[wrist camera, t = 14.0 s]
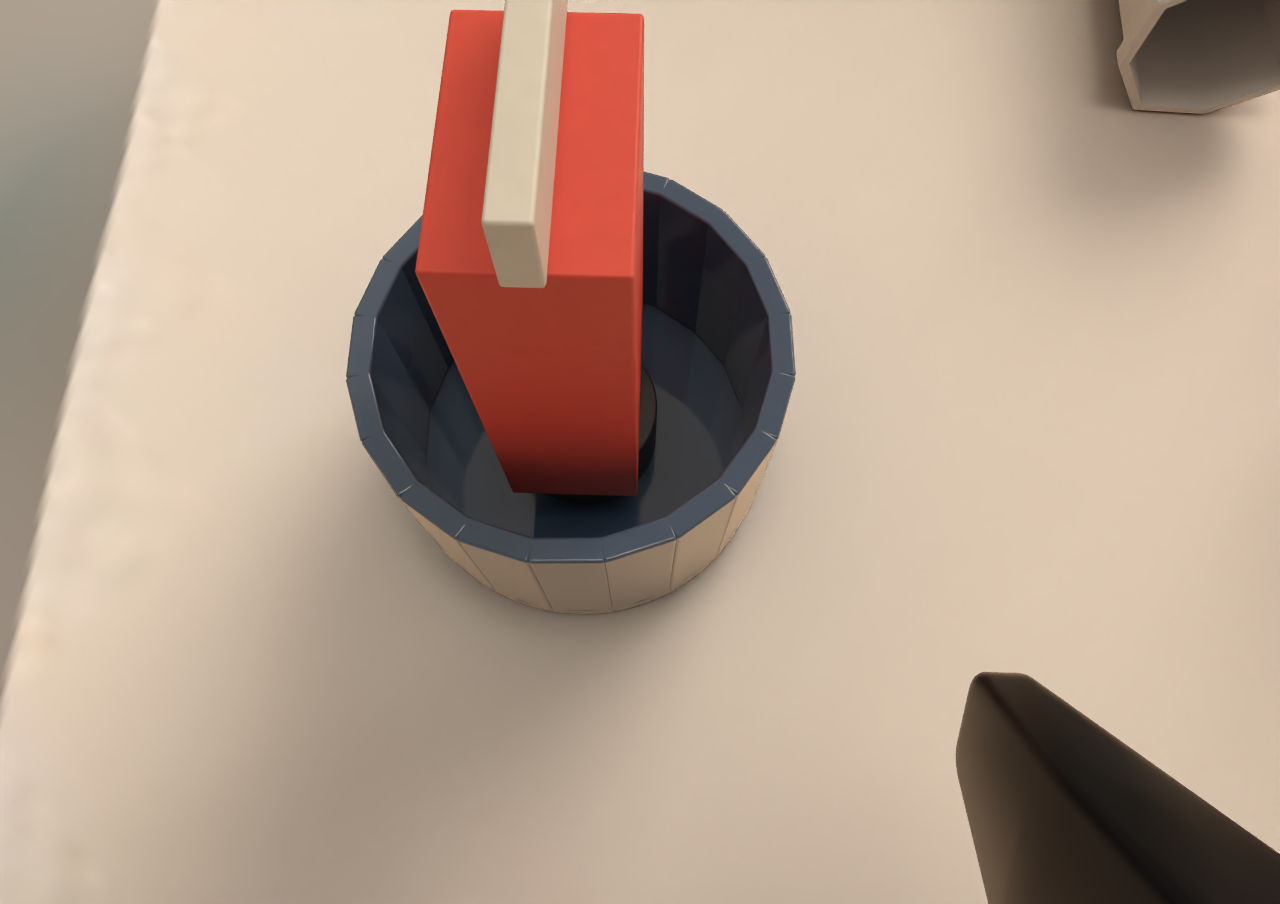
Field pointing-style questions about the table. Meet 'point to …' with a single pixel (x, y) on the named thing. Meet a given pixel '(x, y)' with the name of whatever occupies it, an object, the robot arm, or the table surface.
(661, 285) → the holder
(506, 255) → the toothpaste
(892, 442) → the table surface
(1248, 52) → the tube
